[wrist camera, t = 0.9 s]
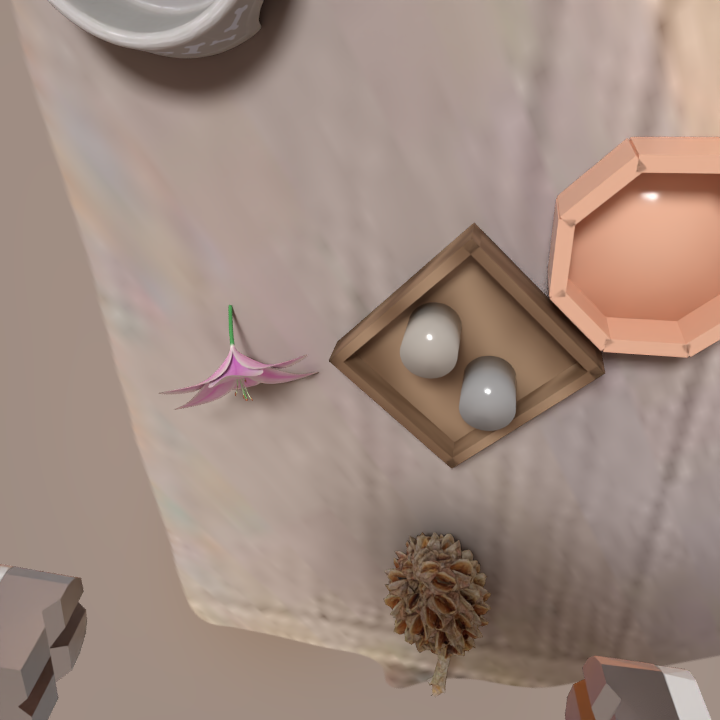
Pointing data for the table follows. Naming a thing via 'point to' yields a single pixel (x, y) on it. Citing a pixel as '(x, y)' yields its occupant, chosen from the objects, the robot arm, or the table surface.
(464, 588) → the pine cone
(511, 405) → the grey rounded cylinder
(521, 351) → the tray
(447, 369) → the pebble
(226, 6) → the dog bowl
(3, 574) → the robot arm
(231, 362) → the lily
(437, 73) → the table surface
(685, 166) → the bowl
